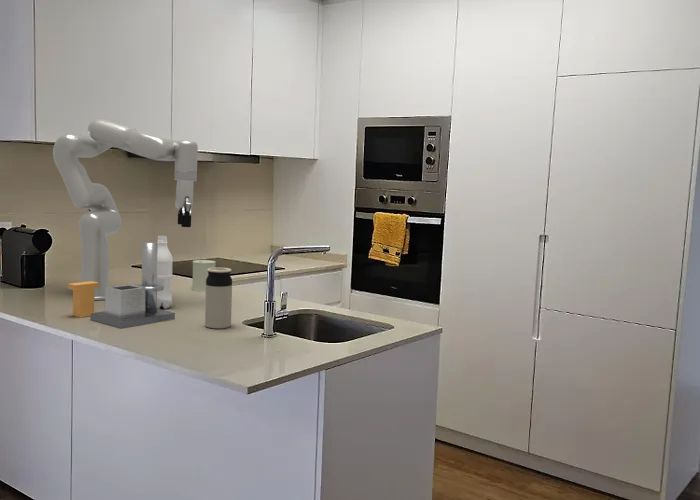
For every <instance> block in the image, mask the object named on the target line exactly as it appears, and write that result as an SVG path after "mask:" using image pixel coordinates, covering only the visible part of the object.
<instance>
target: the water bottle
mask: <svg viewBox="0 0 700 500" xmlns="http://www.w3.org/2000/svg"><path fill="white" fill-rule="evenodd" d="M156 243H158V253H157V284H162V285H164V290H162V291H157V309H161V307H162V308H163V310H166V309H168V308H170V307H171V306H172V303H173V296H172V288H171V287H172V286H171V285H172V277H173V256H172V253H171V251H170V250H169V247H168V243H169V242H168V236H167V235H157V241H156Z"/></svg>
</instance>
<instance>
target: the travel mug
mask: <svg viewBox="0 0 700 500" xmlns="http://www.w3.org/2000/svg"><path fill="white" fill-rule="evenodd" d="M207 271H208V277H207V279H206V292H205V304H204V305H205V309H204V310H205V311H204V312H205V313H204V315H205V316H204V318H205V319H204V325H205V327H207V328H208V329H214V330H218V329H219V330H221V329H227V328H230V327H231V326H232V300H233V299H232V298H233V295H232V294H233V278H232V276H231V272H232V268H230V267H229V268H228V267H215V268H208V269H207Z"/></svg>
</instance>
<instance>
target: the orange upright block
mask: <svg viewBox="0 0 700 500" xmlns="http://www.w3.org/2000/svg"><path fill="white" fill-rule="evenodd" d="M97 287H99V283H98V282H93V281H88V282H82V281H81V282H80V281H79V282H72V283H68V284H67V289H69V290H72V317H76V318H85V317H86V316H87V317H91V313H95V300H94V288H97Z"/></svg>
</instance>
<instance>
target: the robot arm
mask: <svg viewBox="0 0 700 500" xmlns="http://www.w3.org/2000/svg"><path fill="white" fill-rule="evenodd" d="M87 132H88V133H87V134H82V133H73V132H70V133H64V134H62V135H60V136H59V137H58V138H57V139H56V140H55V142H54V145H53V147H52V158H53V161H54V164H55V166H56V168H57V170H58V172H59V174H60V176H61V179H62V181H63V183H64V185H65V188H66V190H67V193H68V195H69V198H70V200H71V202H72V204H73V206H75V207H76V208H77V209H79V210H91V211H87V212H86V213H84V214H83V215H81V217H80V219H79V221H78V231H79V236H80V243H81V244H80V247H81V249H80V250H81V282H88V281H93V282H98V283H99V287H97V288H94V301H103V300H104V301H105V288H106V287H110V244H109V241H108V238H107V237H109V236H113V235H116V234H117V233H118V232H119V231H120V230H121V229H122V224H123V223H122V217H121V214H120V212H119V210H118V208H117V205H116V203H115V200H114V198H113V196H112V194H111V191H110V190H109V189H108V187H106V186H105V185H104V184H101V183H98V182H92V181H91V179H90V176H89V175H88V173H87V170H86V168H85V167H84V165H83V164H82V163H81V162H80V161H79V158H80V159H82V158H83V159H87V158H88V159H90V158H95V157H97V156H100V155H101V154H102V153H104V152H106V151H108V150H110V149H111V148H112V147H114V148H116V149H120V150H123V151H126V152H129V153H132V154H135V155H137V156H140V157H143V158H147V159H149V160H153V161H162V162H164V161H165V162H174V179H173V180H174V181H176V189H175V202H174V204H175V205H174V206H175V209H177V210H178V211H177V224H178V225H180V226H181V227H182V228H191V227H192V210H193V206H194V205H193V204H194V182H197V181H198V180H197V175H198V153H199V152H198V150H199V147H198V143H197V142H196V141H191V140H173V139H168V138H162V137H161V138H160V137H159V138H158V137H155V136H152V135H147V134H144V133H142V132H139V131H137V128H135V127H134V126H129V125H126V124H122V123H121V122H118V121H116V120H114V119H107V118H95V119H93V120H91V122H89V124H88V127H87Z"/></svg>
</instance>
